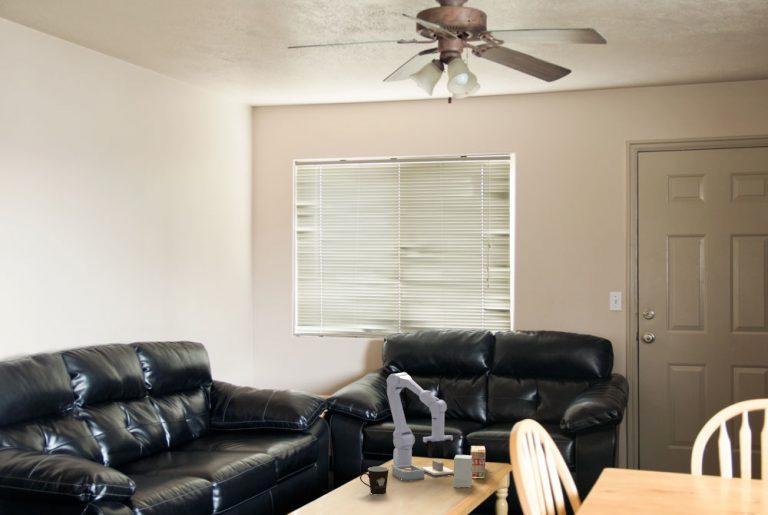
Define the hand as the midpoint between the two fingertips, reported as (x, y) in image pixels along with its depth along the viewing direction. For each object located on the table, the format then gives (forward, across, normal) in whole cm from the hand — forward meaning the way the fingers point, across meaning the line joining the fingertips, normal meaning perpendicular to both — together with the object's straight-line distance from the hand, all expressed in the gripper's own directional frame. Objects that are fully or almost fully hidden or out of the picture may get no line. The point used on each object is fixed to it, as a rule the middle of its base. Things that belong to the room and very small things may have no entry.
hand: (437, 456), depth 409 cm
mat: (+7, 0, 0) cm, 7 cm away
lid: (+6, 0, 0) cm, 7 cm away
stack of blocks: (+8, +17, -7) cm, 20 cm away
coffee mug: (+8, -41, -21) cm, 47 cm away
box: (+8, -16, -2) cm, 18 cm away
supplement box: (+8, -1, -25) cm, 26 cm away
